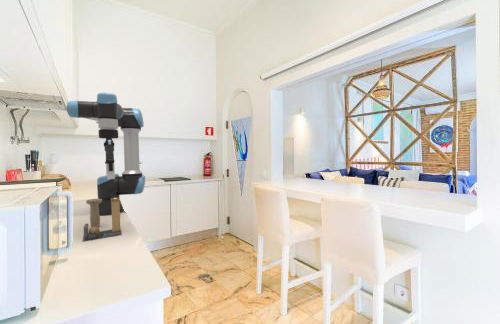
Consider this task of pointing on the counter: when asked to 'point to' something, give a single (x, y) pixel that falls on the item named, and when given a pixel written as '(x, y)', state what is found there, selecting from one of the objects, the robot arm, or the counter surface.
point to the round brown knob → (94, 230)
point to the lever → (115, 214)
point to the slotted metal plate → (101, 234)
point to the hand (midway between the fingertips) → (110, 177)
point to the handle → (94, 212)
